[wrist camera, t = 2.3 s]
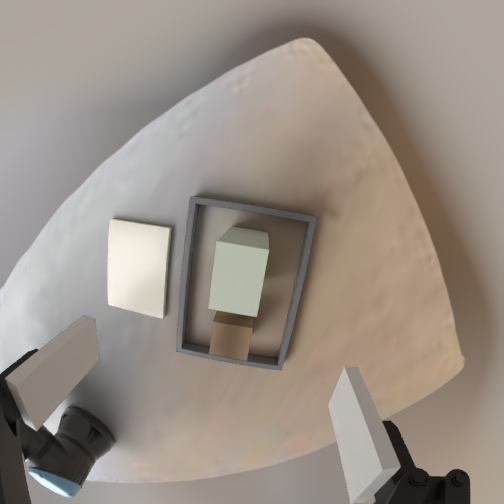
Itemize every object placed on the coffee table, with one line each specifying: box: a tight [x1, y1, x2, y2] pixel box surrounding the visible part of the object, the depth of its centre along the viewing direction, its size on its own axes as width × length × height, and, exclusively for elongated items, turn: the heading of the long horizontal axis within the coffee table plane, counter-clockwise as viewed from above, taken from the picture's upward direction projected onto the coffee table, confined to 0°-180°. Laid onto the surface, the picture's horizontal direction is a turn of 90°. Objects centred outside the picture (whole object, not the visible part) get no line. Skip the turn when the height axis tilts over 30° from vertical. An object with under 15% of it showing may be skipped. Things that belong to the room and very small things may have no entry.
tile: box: [108, 219, 172, 319], centre depth 39 cm, size 10×14×1 cm
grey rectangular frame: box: [176, 196, 317, 370], centre depth 39 cm, size 17×24×2 cm
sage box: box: [208, 226, 269, 317], centre depth 33 cm, size 5×7×12 cm
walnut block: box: [209, 310, 254, 361], centre depth 37 cm, size 5×5×7 cm
